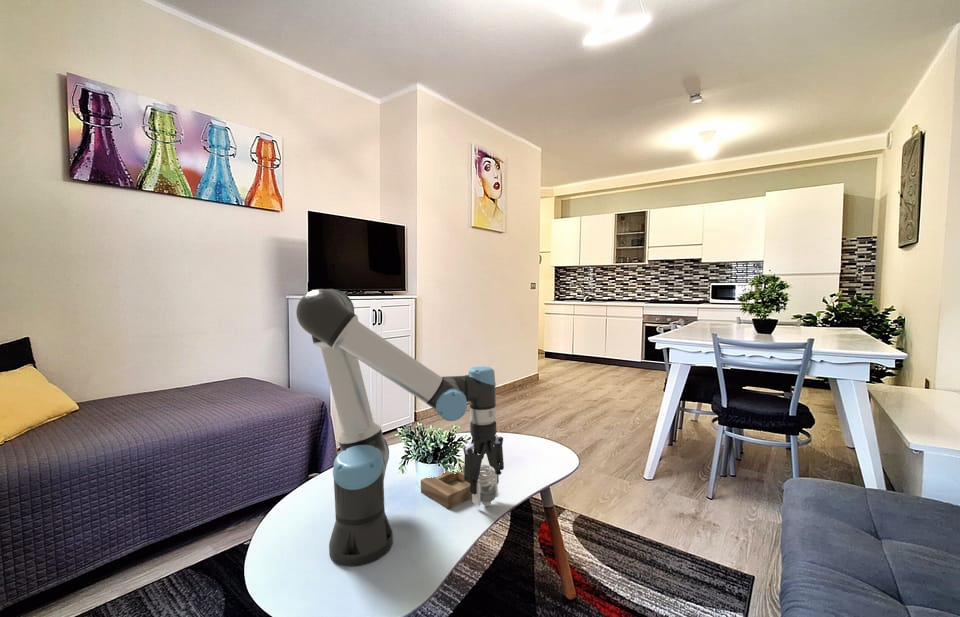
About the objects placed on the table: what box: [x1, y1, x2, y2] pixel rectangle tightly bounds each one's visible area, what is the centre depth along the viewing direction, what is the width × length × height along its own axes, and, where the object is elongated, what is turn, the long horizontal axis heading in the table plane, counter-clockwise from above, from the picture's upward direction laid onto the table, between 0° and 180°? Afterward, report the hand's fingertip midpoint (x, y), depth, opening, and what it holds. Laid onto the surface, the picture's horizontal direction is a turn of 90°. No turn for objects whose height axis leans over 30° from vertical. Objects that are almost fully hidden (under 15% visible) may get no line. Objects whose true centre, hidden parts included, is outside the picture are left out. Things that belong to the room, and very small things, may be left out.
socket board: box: [420, 465, 489, 510], centre depth 130 cm, size 16×14×4 cm
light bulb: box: [478, 464, 496, 507], centre depth 120 cm, size 6×6×12 cm
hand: (485, 499), depth 121 cm, fingers open, 6 cm apart
